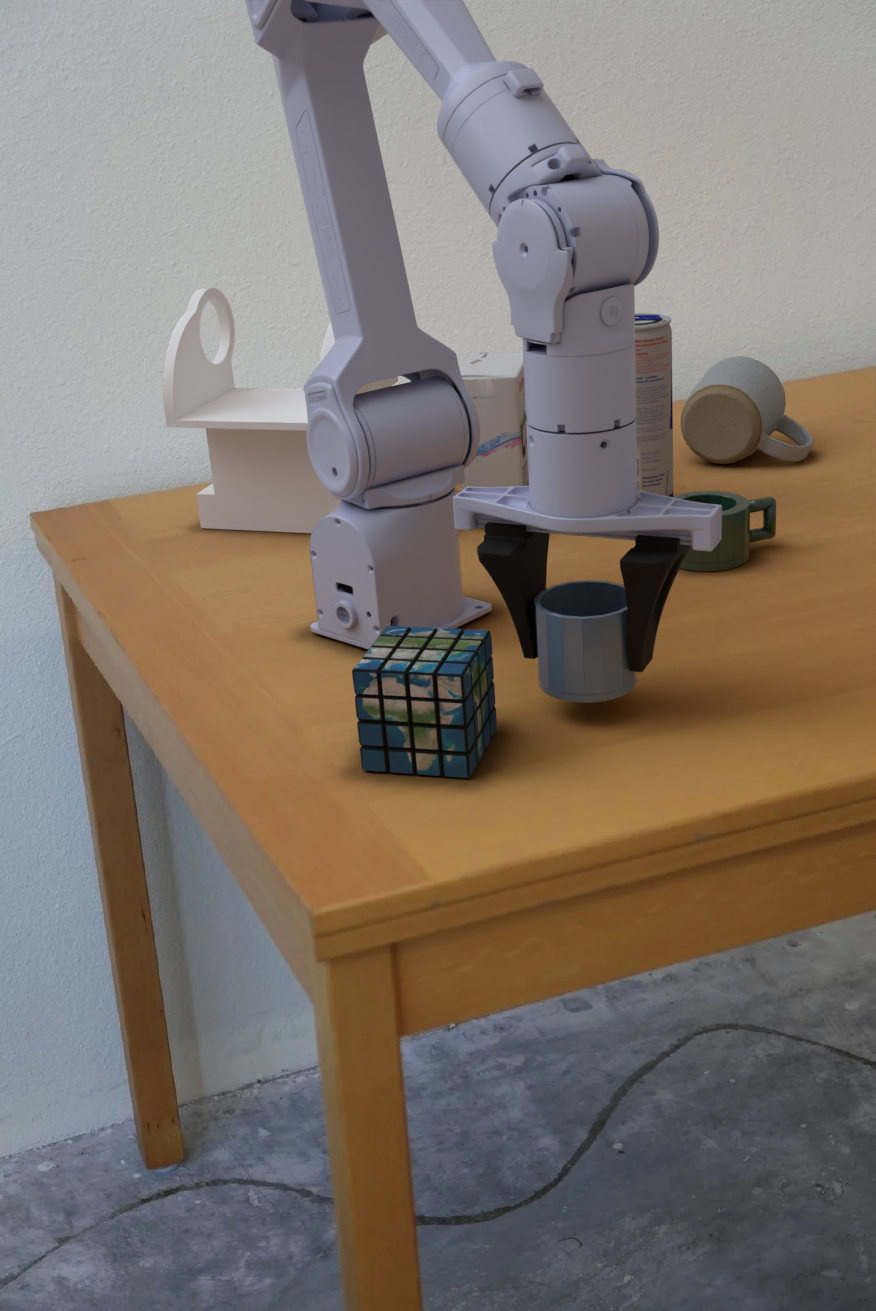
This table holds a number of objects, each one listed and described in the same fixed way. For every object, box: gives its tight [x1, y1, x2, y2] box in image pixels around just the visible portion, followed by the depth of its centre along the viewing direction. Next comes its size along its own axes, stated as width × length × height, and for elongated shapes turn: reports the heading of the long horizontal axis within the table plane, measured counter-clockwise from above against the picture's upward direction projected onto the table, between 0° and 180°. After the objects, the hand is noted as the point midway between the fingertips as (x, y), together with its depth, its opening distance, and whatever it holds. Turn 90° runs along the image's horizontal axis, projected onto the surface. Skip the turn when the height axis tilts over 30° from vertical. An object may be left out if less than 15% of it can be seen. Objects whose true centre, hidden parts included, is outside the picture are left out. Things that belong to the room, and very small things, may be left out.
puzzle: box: [351, 626, 498, 779], centre depth 79 cm, size 6×6×6 cm
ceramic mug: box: [680, 356, 814, 465], centre depth 125 cm, size 11×8×8 cm
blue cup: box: [534, 579, 640, 704], centre depth 82 cm, size 6×6×5 cm
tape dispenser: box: [162, 287, 399, 534], centre depth 116 cm, size 14×13×18 cm
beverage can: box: [635, 312, 674, 497], centre depth 112 cm, size 5×5×15 cm
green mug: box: [673, 490, 777, 572], centre depth 104 cm, size 8×6×4 cm
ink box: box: [459, 351, 529, 491], centre depth 115 cm, size 8×5×12 cm, turn 171°
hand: (588, 658), depth 82 cm, fingers closed on blue cup, 5 cm apart
